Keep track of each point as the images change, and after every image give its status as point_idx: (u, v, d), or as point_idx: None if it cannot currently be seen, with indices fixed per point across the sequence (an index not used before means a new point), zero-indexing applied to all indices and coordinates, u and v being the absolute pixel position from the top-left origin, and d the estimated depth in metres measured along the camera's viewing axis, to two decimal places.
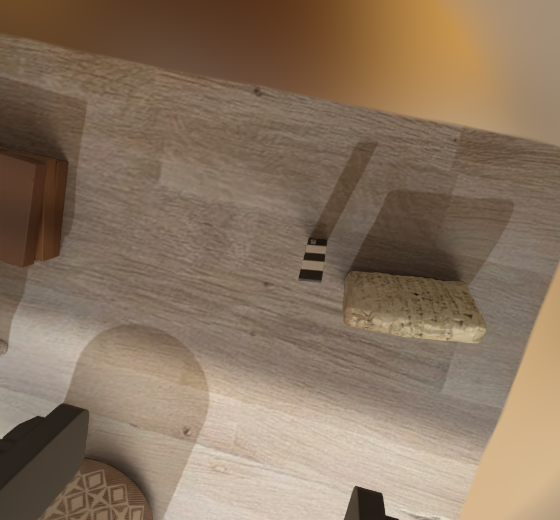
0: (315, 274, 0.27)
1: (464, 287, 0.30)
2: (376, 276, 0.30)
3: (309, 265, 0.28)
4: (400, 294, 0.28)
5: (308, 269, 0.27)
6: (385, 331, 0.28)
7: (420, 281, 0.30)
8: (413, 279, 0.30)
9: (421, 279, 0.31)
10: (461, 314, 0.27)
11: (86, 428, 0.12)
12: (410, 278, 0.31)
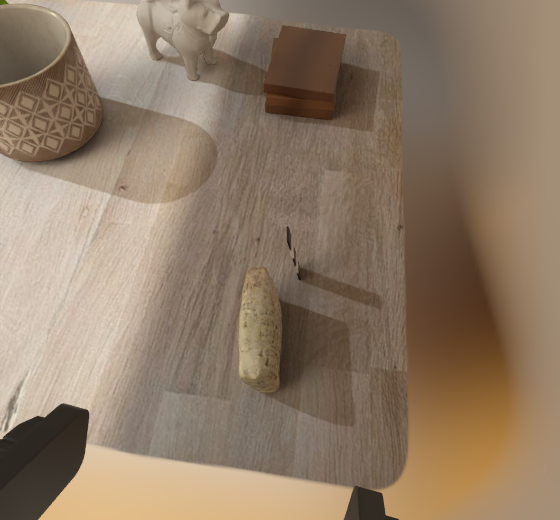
0: (290, 241, 0.35)
1: (278, 382, 0.34)
2: None
3: (292, 244, 0.36)
4: (275, 314, 0.34)
5: (291, 240, 0.36)
6: (245, 299, 0.33)
7: None
8: None
9: None
10: (267, 356, 0.31)
11: (86, 428, 0.12)
12: None
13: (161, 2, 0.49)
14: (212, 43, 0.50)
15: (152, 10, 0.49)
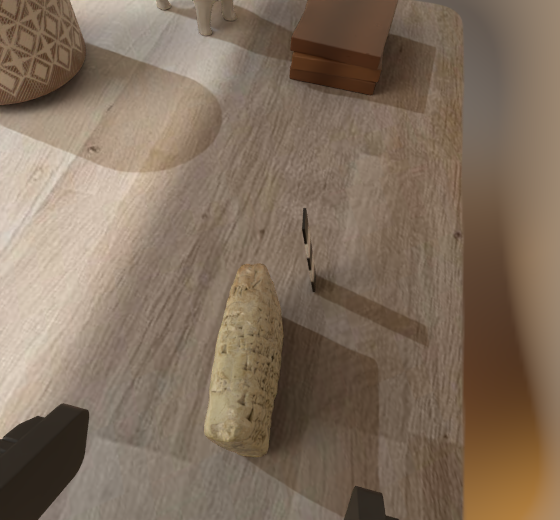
0: (306, 231, 0.23)
1: (267, 444, 0.22)
2: None
3: (309, 237, 0.25)
4: (272, 337, 0.22)
5: (308, 230, 0.24)
6: (229, 310, 0.21)
7: (276, 382, 0.23)
8: (279, 373, 0.23)
9: None
10: (252, 405, 0.19)
11: (86, 428, 0.12)
12: None
13: None
14: None
15: None
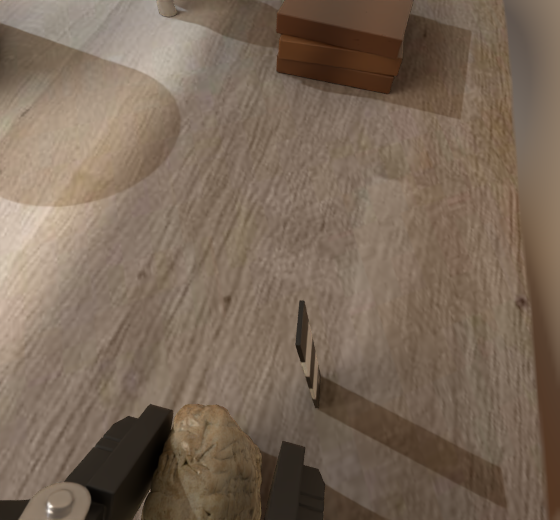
0: (304, 341, 0.13)
1: None
2: (260, 501, 0.14)
3: (309, 342, 0.14)
4: None
5: (307, 334, 0.14)
6: (149, 510, 0.11)
7: None
8: None
9: None
10: None
11: (170, 427, 0.13)
12: None
13: None
14: None
15: None
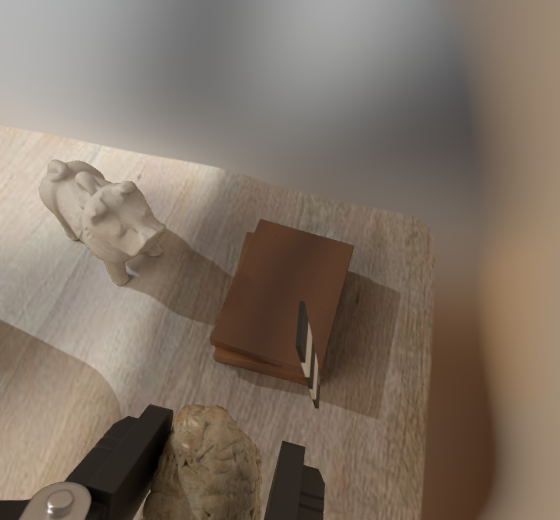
0: (304, 341, 0.13)
1: None
2: (260, 502, 0.14)
3: (309, 342, 0.14)
4: None
5: (307, 335, 0.14)
6: (149, 510, 0.11)
7: None
8: None
9: None
10: None
11: (170, 427, 0.13)
12: None
13: (72, 185, 0.32)
14: None
15: (58, 195, 0.32)
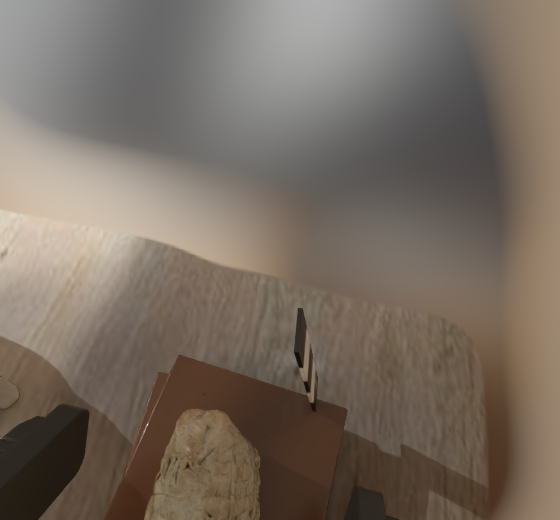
0: (302, 347, 0.13)
1: None
2: (258, 503, 0.14)
3: (307, 347, 0.15)
4: None
5: (305, 340, 0.14)
6: (152, 512, 0.11)
7: None
8: None
9: None
10: None
11: (86, 428, 0.12)
12: None
13: None
14: None
15: None
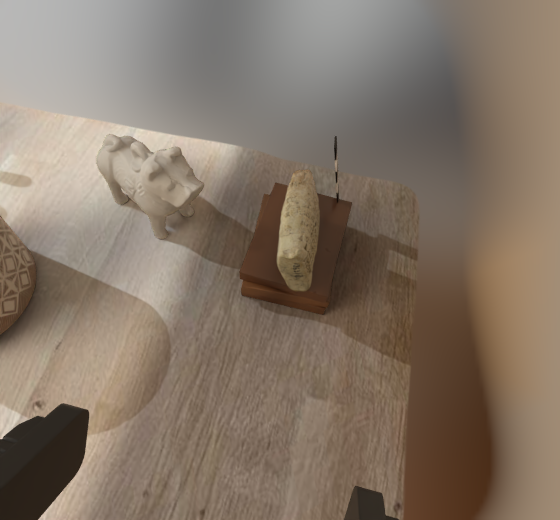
0: (336, 151, 0.37)
1: (311, 278, 0.35)
2: (319, 216, 0.38)
3: None
4: (315, 213, 0.35)
5: None
6: (289, 194, 0.35)
7: None
8: None
9: None
10: (306, 242, 0.32)
11: (86, 428, 0.12)
12: None
13: (125, 154, 0.39)
14: (184, 206, 0.40)
15: (113, 162, 0.40)
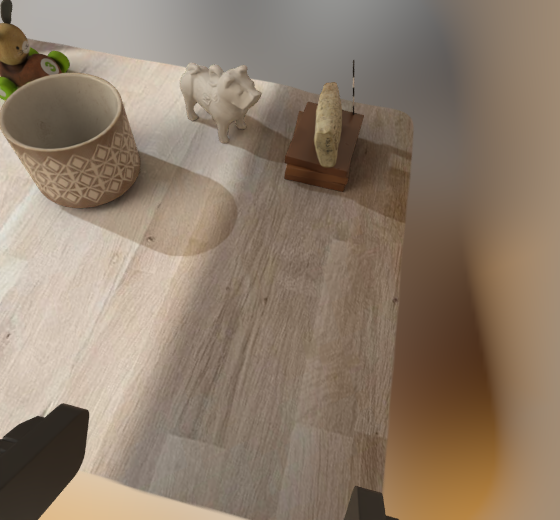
0: None
1: (336, 155, 0.51)
2: None
3: None
4: (339, 110, 0.51)
5: None
6: (322, 97, 0.51)
7: (339, 135, 0.52)
8: None
9: (339, 139, 0.53)
10: (335, 124, 0.48)
11: (86, 428, 0.12)
12: (339, 134, 0.53)
13: (203, 76, 0.55)
14: (244, 114, 0.56)
15: (194, 82, 0.56)
